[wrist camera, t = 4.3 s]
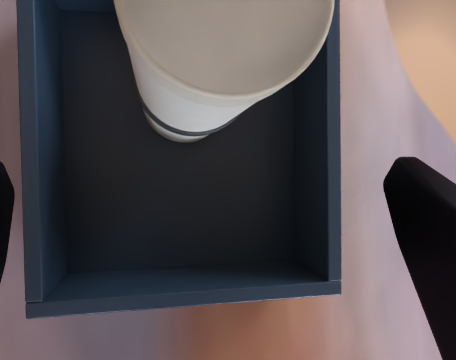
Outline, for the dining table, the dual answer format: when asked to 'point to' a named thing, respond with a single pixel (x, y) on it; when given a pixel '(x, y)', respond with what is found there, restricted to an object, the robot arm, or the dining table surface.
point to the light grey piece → (216, 56)
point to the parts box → (167, 180)
